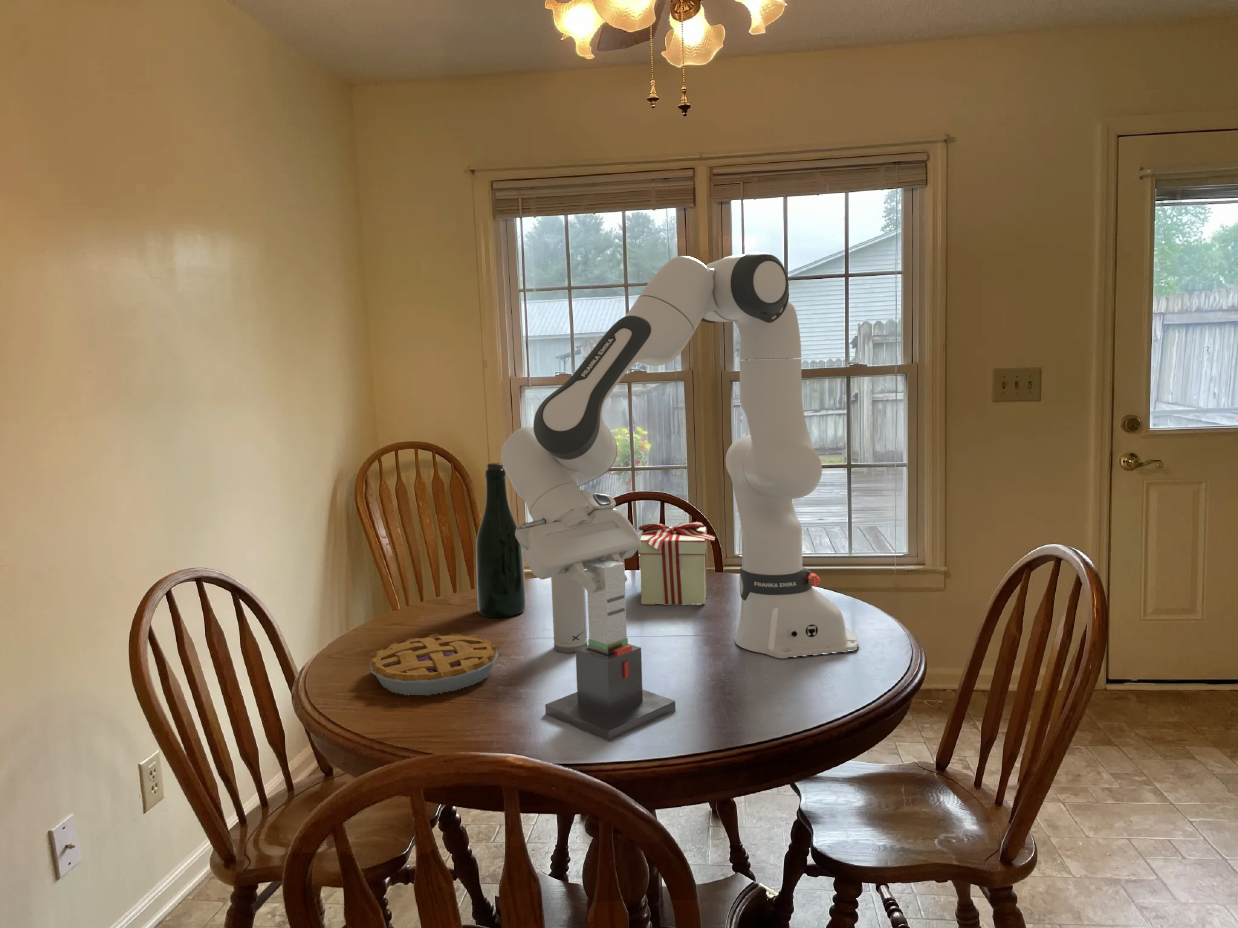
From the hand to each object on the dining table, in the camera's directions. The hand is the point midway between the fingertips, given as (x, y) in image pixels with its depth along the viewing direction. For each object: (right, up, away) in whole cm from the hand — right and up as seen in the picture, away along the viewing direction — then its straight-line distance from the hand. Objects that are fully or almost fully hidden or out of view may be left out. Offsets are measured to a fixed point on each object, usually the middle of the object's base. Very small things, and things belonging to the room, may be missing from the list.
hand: (609, 586), depth 121 cm
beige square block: (0, -14, +2) cm, 14 cm away
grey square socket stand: (0, -19, +3) cm, 20 cm away
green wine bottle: (-24, -14, +58) cm, 64 cm away
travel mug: (-7, -17, +33) cm, 37 cm away
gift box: (+15, -13, +64) cm, 67 cm away
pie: (-31, -19, +21) cm, 42 cm away
